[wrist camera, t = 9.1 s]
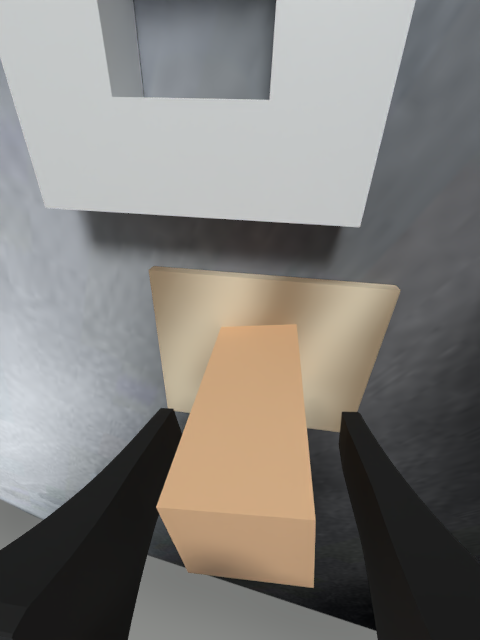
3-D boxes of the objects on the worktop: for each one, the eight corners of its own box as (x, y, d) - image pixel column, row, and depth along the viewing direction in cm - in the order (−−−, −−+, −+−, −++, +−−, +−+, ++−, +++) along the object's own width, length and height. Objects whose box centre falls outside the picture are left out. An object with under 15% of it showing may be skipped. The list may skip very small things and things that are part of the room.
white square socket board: (475, -384, 6) (587, -701, 4) (345, 215, 12) (359, 226, 10) (-35, -315, 7) (-177, -529, 5) (84, 200, 13) (45, 208, 11)
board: (395, 285, 13) (400, 290, 13) (347, 425, 18) (349, 433, 18) (153, 266, 14) (148, 270, 14) (171, 403, 19) (168, 410, 19)
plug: (296, 324, 14) (315, 520, 6) (298, 382, 16) (313, 588, 8) (221, 326, 15) (156, 507, 7) (231, 382, 17) (188, 572, 9)
